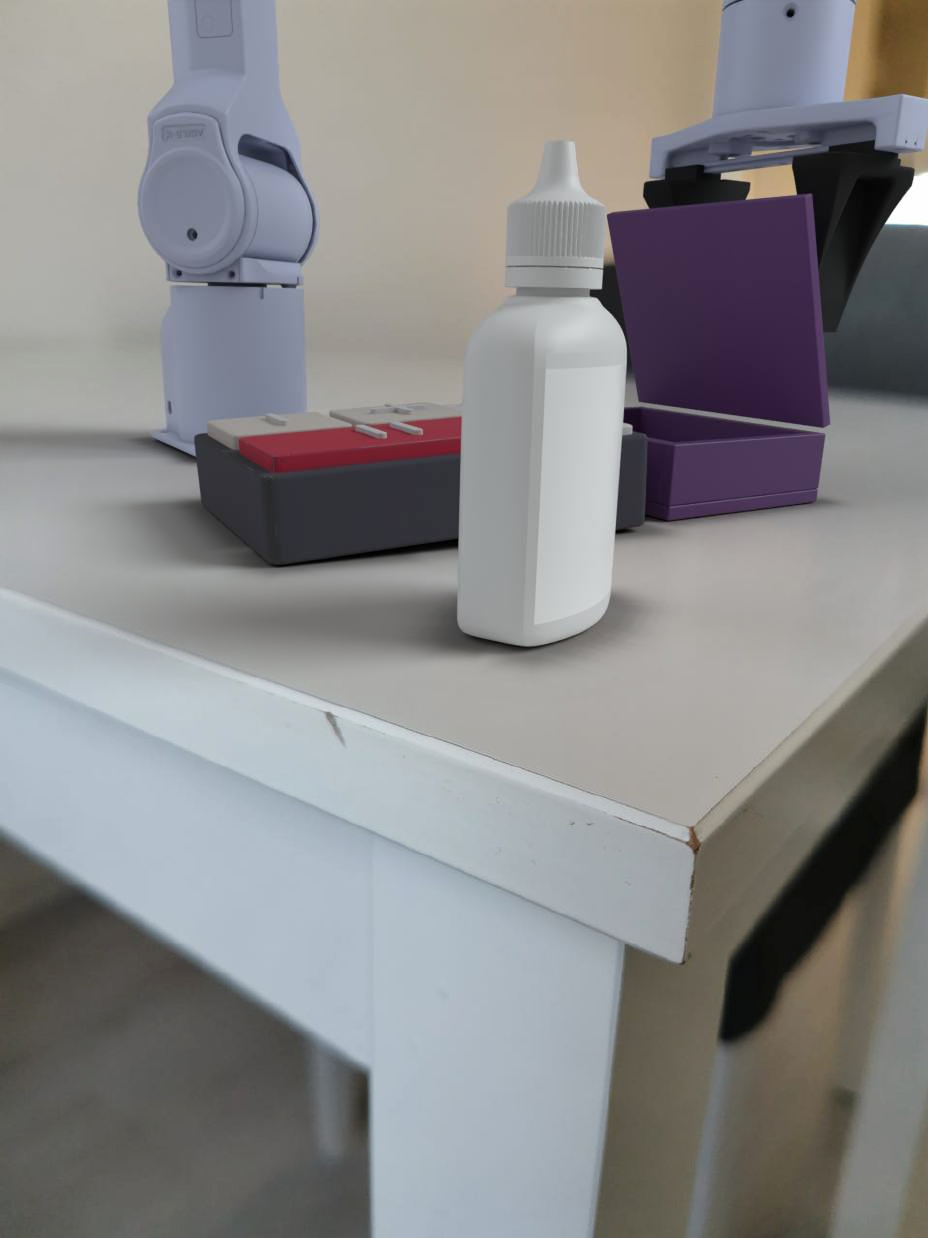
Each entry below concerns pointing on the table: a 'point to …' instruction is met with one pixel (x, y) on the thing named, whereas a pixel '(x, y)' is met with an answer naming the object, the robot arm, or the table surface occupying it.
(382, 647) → the table surface
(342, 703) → the table surface
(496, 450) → the eye dropper bottle
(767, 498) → the purple box
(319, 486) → the grey and red box
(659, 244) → the purple lid
